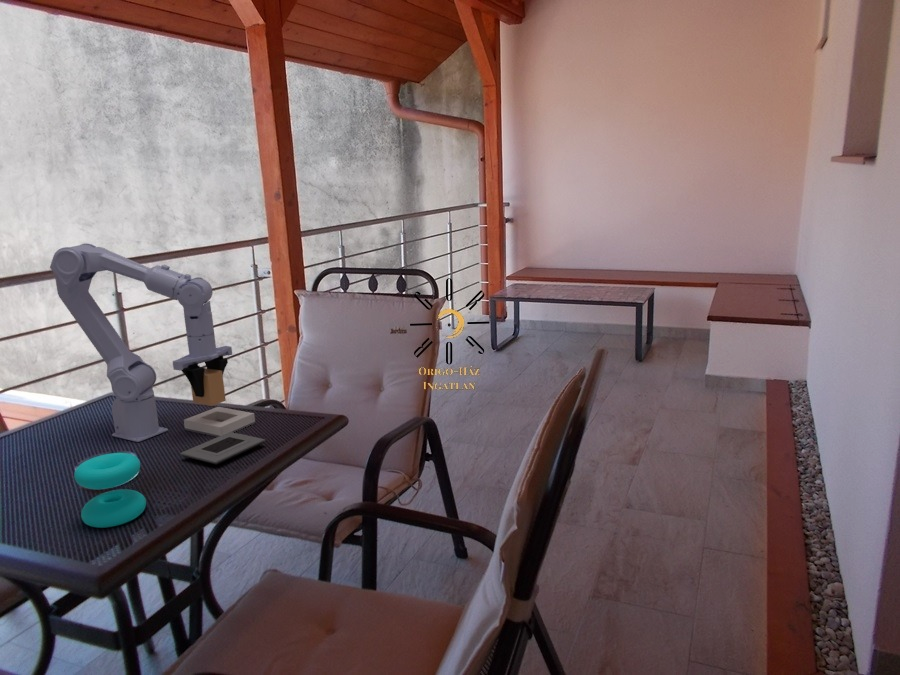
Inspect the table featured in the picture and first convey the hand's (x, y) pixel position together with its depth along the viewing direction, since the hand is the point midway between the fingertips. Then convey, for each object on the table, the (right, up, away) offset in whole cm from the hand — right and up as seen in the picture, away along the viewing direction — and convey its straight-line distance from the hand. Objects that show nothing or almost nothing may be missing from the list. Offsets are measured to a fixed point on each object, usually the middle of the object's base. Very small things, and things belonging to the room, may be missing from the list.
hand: (208, 393), depth 155 cm
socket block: (+1, -8, +4) cm, 9 cm away
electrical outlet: (+7, -12, -11) cm, 18 cm away
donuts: (-3, -18, -37) cm, 41 cm away
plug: (0, -2, 0) cm, 2 cm away
